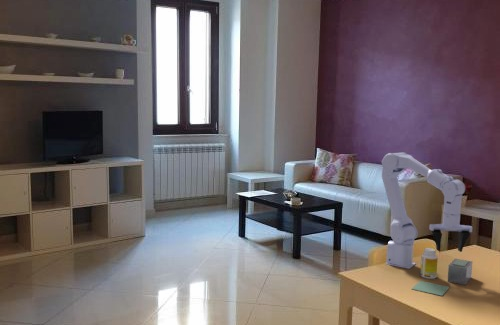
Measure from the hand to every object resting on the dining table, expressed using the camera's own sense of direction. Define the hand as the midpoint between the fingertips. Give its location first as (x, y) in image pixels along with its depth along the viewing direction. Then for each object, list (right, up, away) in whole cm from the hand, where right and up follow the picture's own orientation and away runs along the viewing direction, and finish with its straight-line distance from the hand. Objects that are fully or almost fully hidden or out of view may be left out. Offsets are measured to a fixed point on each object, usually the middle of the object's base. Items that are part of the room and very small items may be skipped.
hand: (449, 250), depth 183 cm
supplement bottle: (-7, -10, +2) cm, 12 cm away
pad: (-10, -11, -10) cm, 18 cm away
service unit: (+4, -10, 0) cm, 11 cm away
